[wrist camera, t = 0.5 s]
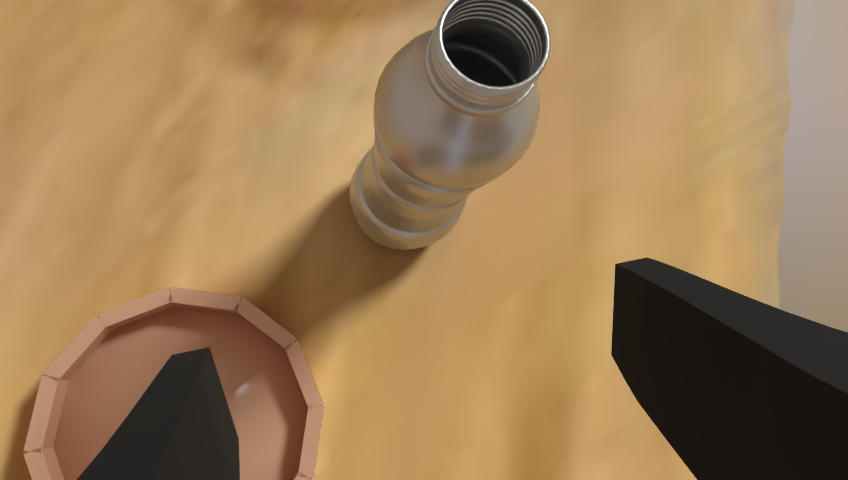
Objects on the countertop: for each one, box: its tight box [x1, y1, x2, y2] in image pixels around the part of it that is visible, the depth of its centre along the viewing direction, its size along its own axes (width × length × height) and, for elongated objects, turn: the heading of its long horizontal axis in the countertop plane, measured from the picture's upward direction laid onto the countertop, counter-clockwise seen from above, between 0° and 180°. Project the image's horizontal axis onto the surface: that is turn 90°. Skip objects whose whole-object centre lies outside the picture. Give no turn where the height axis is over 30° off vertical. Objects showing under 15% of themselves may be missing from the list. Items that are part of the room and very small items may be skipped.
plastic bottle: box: [349, 0, 550, 250], centre depth 30 cm, size 6×7×20 cm
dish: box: [23, 287, 324, 480], centre depth 34 cm, size 14×14×2 cm
